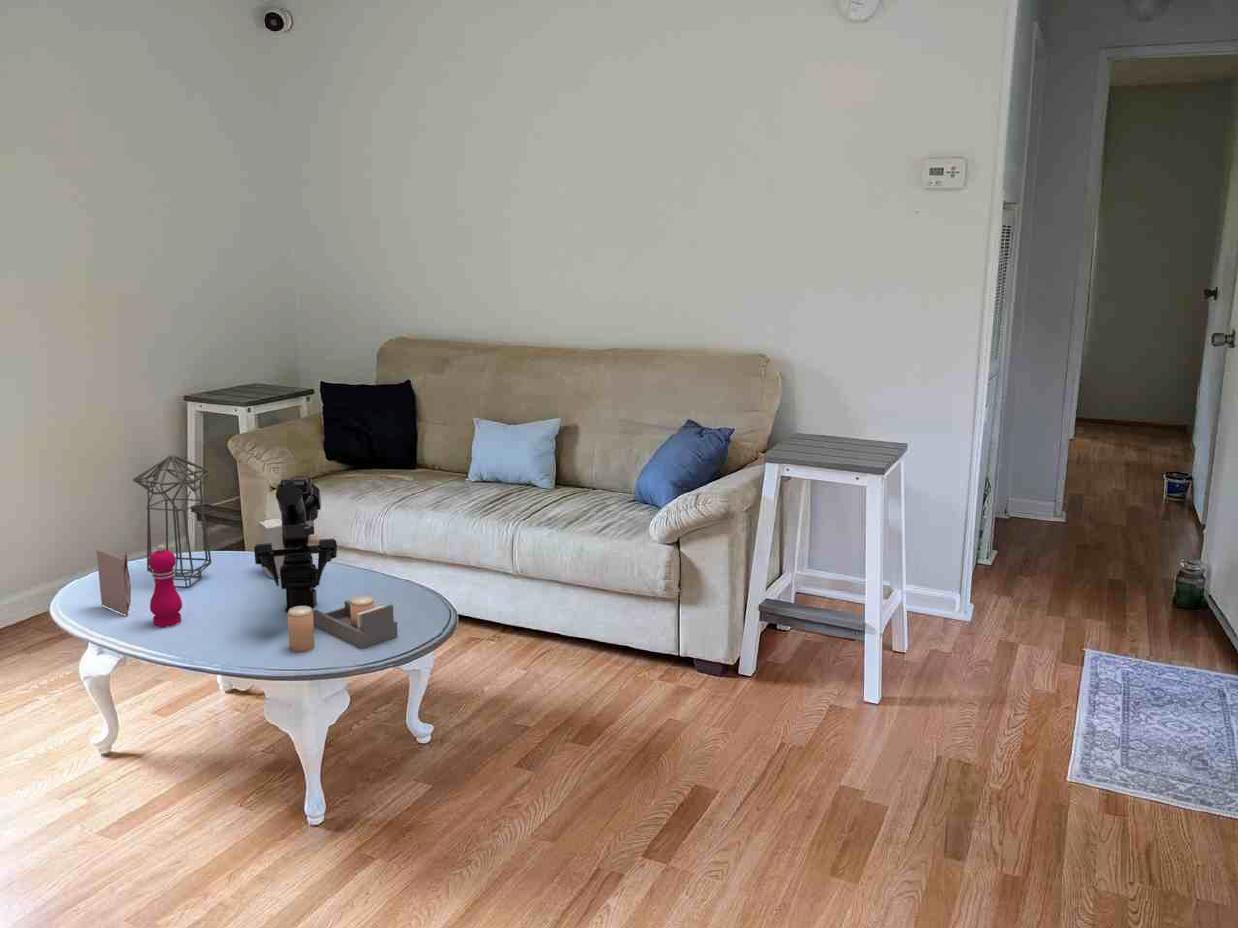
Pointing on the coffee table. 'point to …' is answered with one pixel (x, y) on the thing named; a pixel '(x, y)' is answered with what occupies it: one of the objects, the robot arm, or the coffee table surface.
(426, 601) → the coffee table surface
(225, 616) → the coffee table surface
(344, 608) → the tray
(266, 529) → the skincare box
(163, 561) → the pepper mill
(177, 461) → the geometric lantern
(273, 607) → the coffee table surface
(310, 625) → the terracotta jar
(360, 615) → the panel
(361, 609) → the jar in lane
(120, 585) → the brown paper bag
